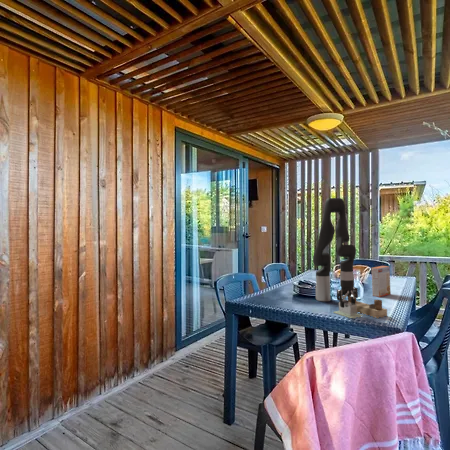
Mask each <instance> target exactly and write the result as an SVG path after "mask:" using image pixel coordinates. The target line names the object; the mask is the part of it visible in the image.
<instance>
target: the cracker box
mask: <svg viewBox="0 0 450 450" xmlns="http://www.w3.org/2000/svg"><path fill="white" fill-rule="evenodd" d="M371 287H372V297H377V298H381V297H385V296H390V295H391V292H392V291H391V270H390V266H387V265H380V266H374V267H371Z"/></svg>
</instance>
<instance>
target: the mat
mask: <svg viewBox="0 0 450 450" xmlns="http://www.w3.org/2000/svg"><path fill="white" fill-rule="evenodd" d="M333 314H337V315H339V316H342V317H344V316H345V318H347V317H348V319H350V318H353V319H357V318H356V317H358V318H362V317H361V316H363V317H364V314H361V313H357V315H354V316H349V315H346V314H343V313H340V312H339V310H336V311H333Z"/></svg>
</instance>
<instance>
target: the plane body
mask: <svg viewBox="0 0 450 450" xmlns="http://www.w3.org/2000/svg"><path fill="white" fill-rule="evenodd" d="M355 295H356V294H355ZM347 300H348V302H350V303H351V297H350V296H347ZM355 304H357V313H358V312H360V313H359V314H362V313H363V314H362V315H365V314H366V316H368V315H370V316H369V317H371V316H373V317H372V318H375V317H376V318H375V319H380V318H379V317H381V318H385V317H384V316H386V317H388V309H387V308H383V301H382V300H381V299H374V301H373V303H371V304H369V303H365V302H361V301H358V300H357V298H356V299H355Z"/></svg>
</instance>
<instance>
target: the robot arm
mask: <svg viewBox="0 0 450 450" xmlns="http://www.w3.org/2000/svg"><path fill="white" fill-rule="evenodd" d="M323 208H324V209H323V214H322V216H323V217H322V222H321V225H320V230H319V235H318V239H317V244H316V247H315V249H314V253H313V256H312V263H313V265H314V266H316V267H322V268H320V269H318V270H316V271H315V279H316V280H315V282H316V283H315V284H316V285H315V299H316V301H319V302H330V301H331V278H330V277H331V276H330V275H331V255H330V253H328V252H324V251H325V249H326V248H327V247H328V246H329V245H330V244H331V243H332V242H333V239H334V237H335V235H336V254H337V255H338V257H340V258H346V257H347V259H345V260H341V261H340V264H339V265H340V266H339V268H340V273H339V281H340V283H339V286H340V289H336V300H338V301H339V302H340V306H341V307H342V308H344V300H346V298H348V296H350V297H351V303H353V304H355V299H356V300H357V299H358V298H359V295H358V294H359V292H358V291H359V289H358V288H357V287H355V275H354V274H355V273H354V261H355V257H356V254H357V249H356V246H355V245H353V244H346V243H348V242H349V241H350V235H349V230H348V225H347V216H346V215H347V214H346V205H345V200H344V199H343V198H342V197H341V198H339V197H329V198H326V199H325V203H324V207H323ZM332 213H338V216H339V218H338V220H337V223H336V226H334V224H333V222H332V219H331V214H332ZM355 294H356V295H355Z"/></svg>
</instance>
